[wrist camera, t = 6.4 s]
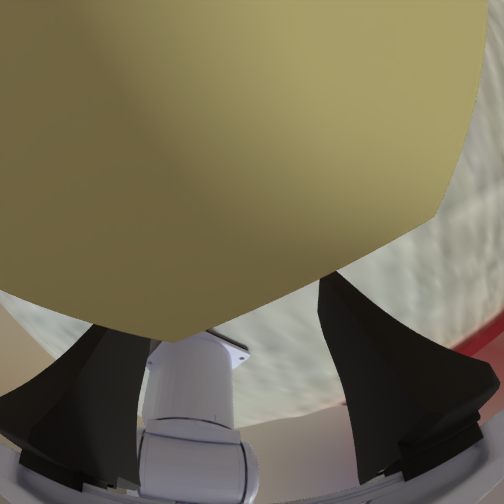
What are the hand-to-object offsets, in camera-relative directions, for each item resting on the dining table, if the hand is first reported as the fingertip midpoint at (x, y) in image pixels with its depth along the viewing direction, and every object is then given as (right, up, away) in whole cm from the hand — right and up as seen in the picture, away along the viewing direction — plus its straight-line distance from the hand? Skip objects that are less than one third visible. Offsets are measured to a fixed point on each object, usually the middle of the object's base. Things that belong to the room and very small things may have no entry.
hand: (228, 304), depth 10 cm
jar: (-1, +12, +4) cm, 13 cm away
